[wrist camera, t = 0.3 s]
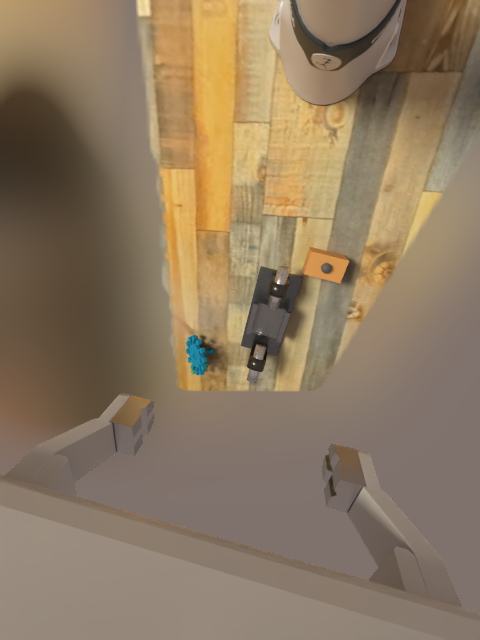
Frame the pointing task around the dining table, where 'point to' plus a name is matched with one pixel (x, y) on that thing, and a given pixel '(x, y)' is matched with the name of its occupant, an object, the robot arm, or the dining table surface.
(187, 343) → the gear
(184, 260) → the dining table surface
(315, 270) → the block
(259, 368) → the shaft stand
